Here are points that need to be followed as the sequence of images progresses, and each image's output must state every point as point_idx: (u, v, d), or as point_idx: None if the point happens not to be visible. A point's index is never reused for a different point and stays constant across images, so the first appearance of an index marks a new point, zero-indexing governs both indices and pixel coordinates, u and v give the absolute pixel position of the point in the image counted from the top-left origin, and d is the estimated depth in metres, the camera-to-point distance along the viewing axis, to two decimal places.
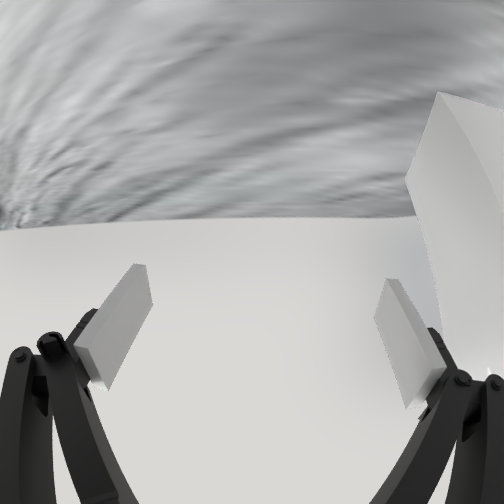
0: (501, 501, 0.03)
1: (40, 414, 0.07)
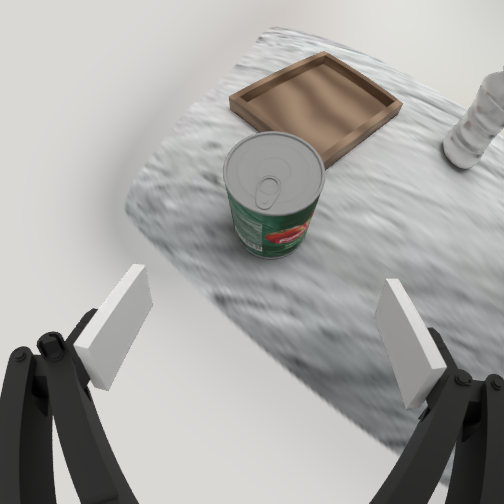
0: (501, 500, 0.03)
1: (40, 414, 0.07)
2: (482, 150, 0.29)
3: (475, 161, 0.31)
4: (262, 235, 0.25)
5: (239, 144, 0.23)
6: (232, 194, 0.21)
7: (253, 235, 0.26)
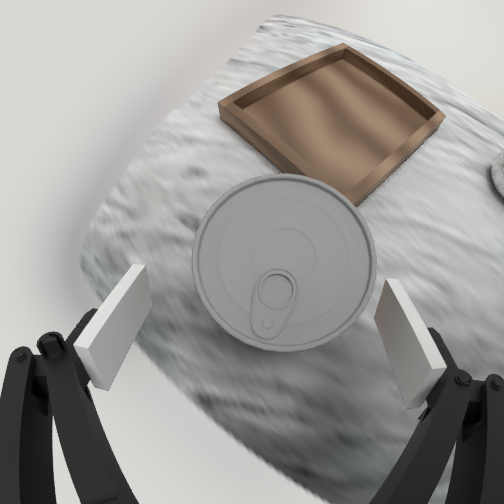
0: (501, 500, 0.03)
1: (40, 414, 0.07)
2: None
3: None
4: None
5: (222, 200, 0.13)
6: (208, 309, 0.11)
7: None
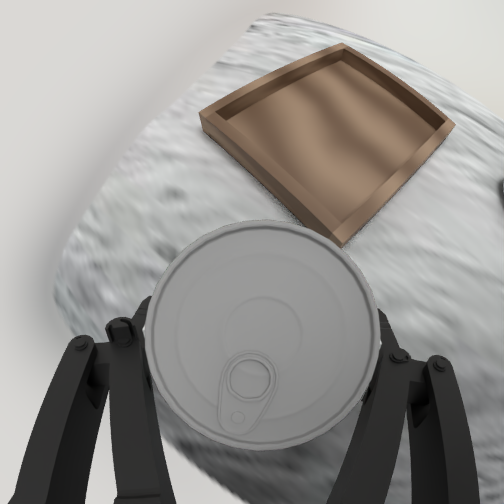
0: (472, 483, 0.04)
1: (91, 407, 0.08)
2: None
3: None
4: None
5: (182, 259, 0.10)
6: (166, 399, 0.08)
7: None
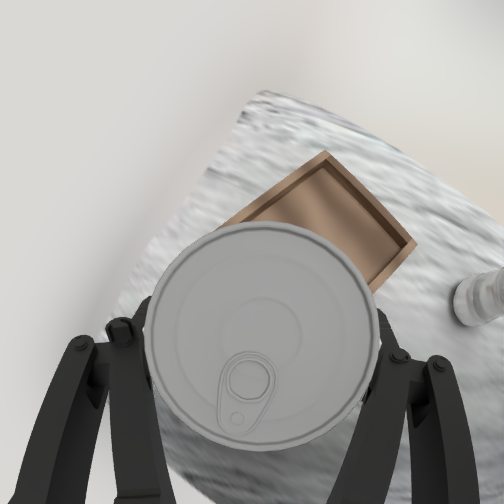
0: (472, 483, 0.04)
1: (91, 407, 0.08)
2: None
3: (485, 323, 0.26)
4: None
5: (181, 260, 0.10)
6: (165, 400, 0.08)
7: None
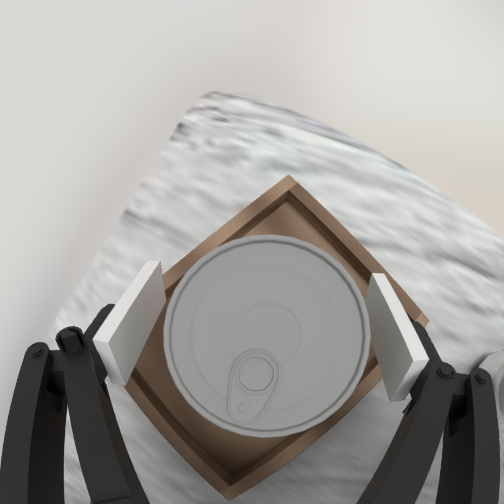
0: (493, 495, 0.04)
1: (54, 411, 0.08)
2: None
3: None
4: None
5: (196, 269, 0.11)
6: (181, 391, 0.10)
7: None
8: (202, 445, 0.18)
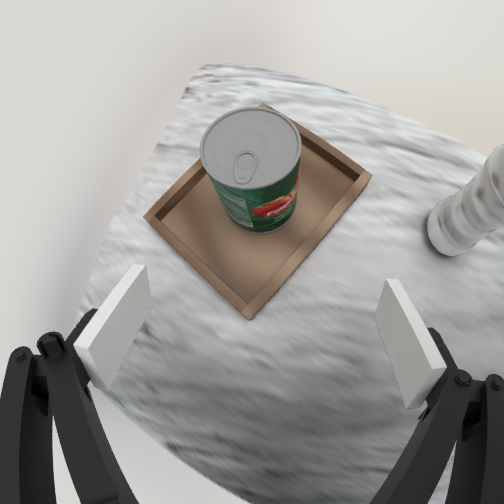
0: (501, 500, 0.03)
1: (40, 414, 0.07)
2: (478, 240, 0.23)
3: (468, 249, 0.25)
4: (248, 210, 0.25)
5: (213, 125, 0.22)
6: (210, 174, 0.21)
7: (240, 212, 0.26)
8: (225, 282, 0.30)
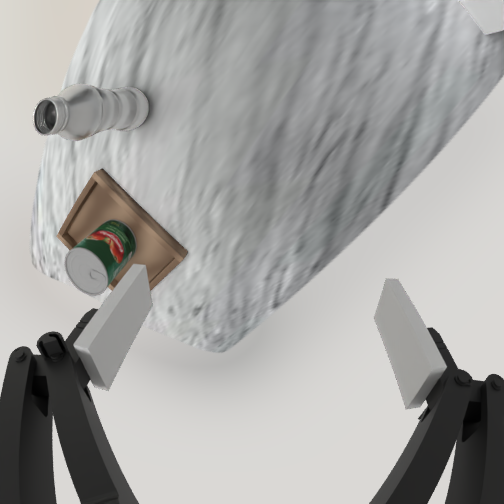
0: (501, 501, 0.03)
1: (40, 414, 0.07)
2: (132, 100, 0.32)
3: (142, 100, 0.34)
4: (120, 263, 0.41)
5: (78, 287, 0.38)
6: (102, 292, 0.38)
7: (122, 265, 0.42)
8: (165, 264, 0.48)
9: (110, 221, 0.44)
